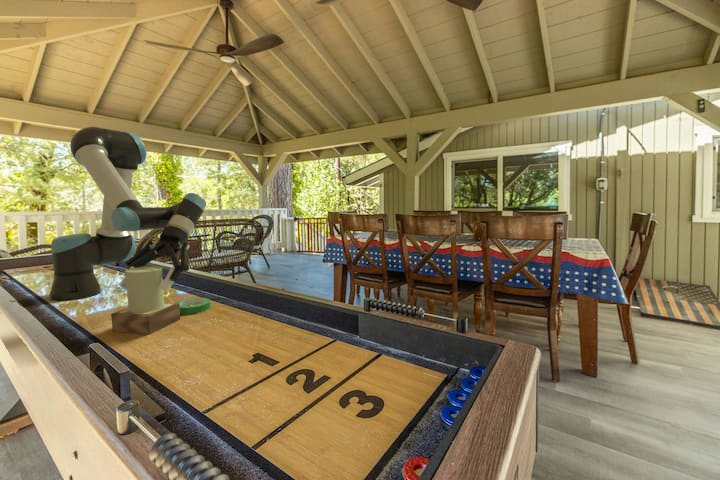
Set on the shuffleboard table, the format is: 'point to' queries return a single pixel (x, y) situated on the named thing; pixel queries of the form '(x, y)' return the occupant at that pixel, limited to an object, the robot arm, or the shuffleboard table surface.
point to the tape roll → (197, 303)
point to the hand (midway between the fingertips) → (143, 288)
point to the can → (144, 289)
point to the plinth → (145, 319)
